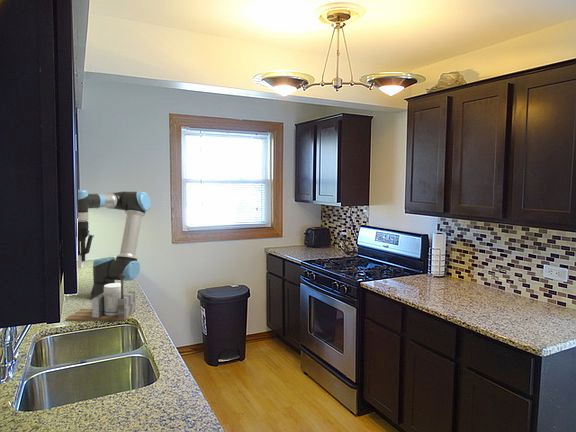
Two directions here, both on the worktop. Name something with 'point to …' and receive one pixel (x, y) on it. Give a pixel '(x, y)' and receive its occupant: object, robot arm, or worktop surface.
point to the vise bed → (124, 311)
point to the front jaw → (98, 305)
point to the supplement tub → (111, 298)
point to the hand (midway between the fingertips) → (80, 267)
